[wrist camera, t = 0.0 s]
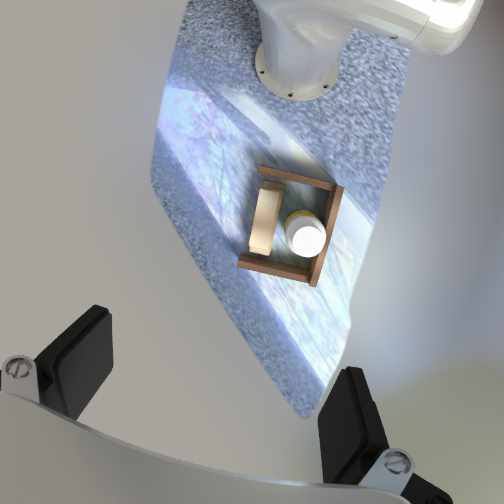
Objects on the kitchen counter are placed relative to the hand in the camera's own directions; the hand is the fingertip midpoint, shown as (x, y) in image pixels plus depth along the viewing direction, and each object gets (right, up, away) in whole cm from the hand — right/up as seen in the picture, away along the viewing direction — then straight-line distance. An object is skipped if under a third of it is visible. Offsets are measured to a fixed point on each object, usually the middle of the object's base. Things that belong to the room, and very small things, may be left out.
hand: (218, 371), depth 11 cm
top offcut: (+3, +10, +34) cm, 35 cm away
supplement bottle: (+9, +9, +35) cm, 38 cm away
